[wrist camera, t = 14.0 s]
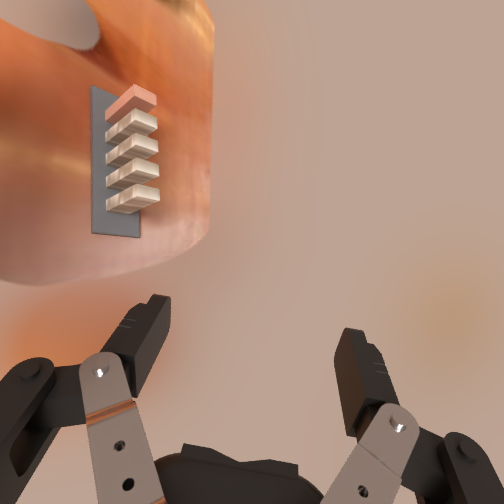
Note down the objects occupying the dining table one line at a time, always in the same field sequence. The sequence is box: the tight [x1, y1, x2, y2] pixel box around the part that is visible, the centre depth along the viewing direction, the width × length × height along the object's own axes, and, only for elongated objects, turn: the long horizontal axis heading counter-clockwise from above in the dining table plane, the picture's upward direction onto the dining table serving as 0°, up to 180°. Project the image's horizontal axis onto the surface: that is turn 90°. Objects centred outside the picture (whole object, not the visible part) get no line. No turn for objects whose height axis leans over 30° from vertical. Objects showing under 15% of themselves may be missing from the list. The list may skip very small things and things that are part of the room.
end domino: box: [105, 84, 156, 125], centre depth 64 cm, size 2×5×12 cm, turn 97°
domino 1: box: [105, 108, 157, 146], centre depth 64 cm, size 2×5×12 cm, turn 97°
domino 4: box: [106, 184, 160, 215], centre depth 62 cm, size 2×5×12 cm, turn 97°
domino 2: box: [106, 132, 158, 169], centre depth 63 cm, size 2×5×12 cm, turn 96°
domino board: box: [90, 85, 140, 238], centre depth 67 cm, size 10×32×1 cm, turn 7°
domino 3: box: [106, 158, 159, 191], centre depth 62 cm, size 2×5×12 cm, turn 97°
